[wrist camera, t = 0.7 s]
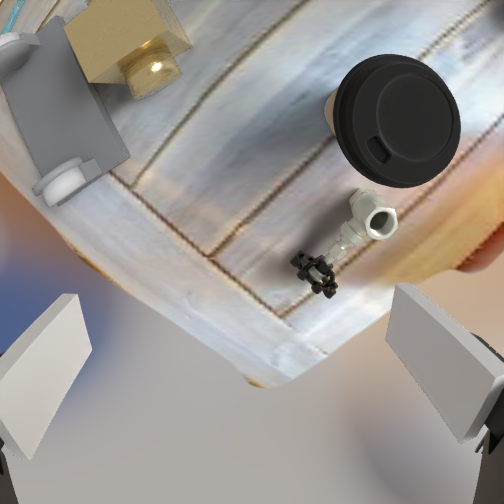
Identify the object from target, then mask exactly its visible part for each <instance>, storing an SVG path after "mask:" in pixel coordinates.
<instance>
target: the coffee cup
mask: <svg viewBox="0 0 504 504" xmlns="http://www.w3.org/2000/svg"><path fill="white" fill-rule="evenodd" d="M324 116H325V119H326V122H327V123H328V125H329V127H330V129H331V131H332V132H333V134H334V135H335V137H336V138H337V141H338V144H339V146H340V148H341V150H342V152H343V154H344V155H345V157H346V158H347V160H348V161H349V163H350V164H351V165H352V166H353V167H354V168H355V169H356V170H357V171H358V172H359V173H361V174H362V175H363V176H365V177H366V178H368V179H369V180H371V181H373V182H376V183H378V184H381V185H385V186H389V187H394V188H410V187H415V186H419V185H422V184H424V183H426V182H428V181H430V180H431V179H433V178H434V177H436V176H437V175H438V174H439V173H441V172H442V171H443V170H444V169H445V168H446V167H447V166H448V164H449V163H450V162H451V160H452V159H453V157H454V155H455V153H456V150H457V147H458V144H459V140H460V133H461V122H460V115H459V110H458V107H457V104H456V101H455V99H454V97H453V95H452V93H451V92H450V90H449V89H448V87H447V85H446V84H445V82H444V81H443V80H442V79H441V77H440V76H439V75H438V74H437V73H436V72H435V71H433V70H432V69H431V68H430V67H428V66H427V65H425V64H424V63H422V62H420V61H418V60H416V59H413V58H410V57H407V56H402V55H396V54H383V55H377V56H373V57H370V58H368V59H366V60H363V61H362V62H360V63H359V64H357V65H356V66H355V67H353V68H352V69H351V70H350V71H349V72H348V74H347V75H346V76H345V78H344V79H343V80H342V82H341V84H340V86H339V87H338V88H337V89H336V90H335V91H334V92H333V93H332V94H331V95H330V96H329V98H328V99H327V101H326V103H325V107H324Z"/></svg>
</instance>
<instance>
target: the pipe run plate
mask: <svg viewBox="0 0 504 504" xmlns="http://www.w3.org/2000/svg"><path fill="white" fill-rule="evenodd" d="M65 25H66V24H65V22H64V20H63V18H62V17H59V16H55V17H54V18H52V19H51V20H50V21H49V22H48V23H47V24H46V25H45V26H44V27H43V28H42V29H41V30H40V31H39V32H38V33H37V34H36V35H35V34H27V33H21V35H20V36H19V34H18V33H16V32H9V33H6V34H3V35H1V36H0V82H1V85H2V88H3V90H4V93H5V96H6V98H7V101H8V103H9V106H10V108H11V111H12V113H13V116H14V118H15V120H16V123H17V125H18V127H19V130H20V132H21V134H22V136H23V138H24V141H25V143H26V145H27V147H28V149H29V151H30V153H31V155H32V157H33V159H34V161H35V163H36V165H37V167H38V169H39V171H40V173H41V175H42V177H43V178H42V179H40V180H39V181H38V182H37V183H36V184H35V185H34V186H33V188H32V190H33V192H34V194H35V196H38V195H40V194H42V196H43V197H44V199H45V201H46V203H47V205H48V206H49V208H50V207H52V206H54V205H55V204H58V206H61V205H62V204H64V203H65V202H66V201H68V200H69V199H70V198H72V197H73V196H74V195H76V194H77V193H79V192H80V191H81V190H83V189H84V188H85V187H87V186H88V185H90V184H91V183H92V182H94V181H95V180H97V179H98V178H100V177H101V176H102V175H104V174H105V173H107V172H108V171H110V170H111V169H113V168H114V167H116V166H117V165H119V164H120V163H122V162H124V161H125V160H127V159H128V158H130V157H131V156H130V154H129V152H128V150H127V148H126V147H125V145H124V143H123V141H122V139H121V137H120V135H119V133H118V132H117V130H116V128H115V126H114V124H113V122H112V120H111V118H110V116H109V114H108V112H107V110H106V108H105V107H104V105H103V103H102V101H101V99H100V97H99V95H98V93H97V91H96V89H95V87H94V85H93V83H89V82H88V80H87V78H86V76H85V74H84V72H83V69H82V67H81V65H80V63H79V61H78V59H77V57H76V54H75V52H74V50H73V48H72V46H71V43H70V41H69V39H68V37H67V35H66V32H65V30H64V28H63V27H64V26H65Z"/></svg>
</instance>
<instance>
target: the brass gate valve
mask: <svg viewBox="0 0 504 504" xmlns="http://www.w3.org/2000/svg"><path fill="white" fill-rule="evenodd" d="M86 3H87V5H88V7H87V8H86V9H85V10H84V11H82V12H81V13H80V14H78V15H77V16H76V17H75V18H74V19H72V20H71V21H70V22H69V23H68V24H66V25H65V26H64V27H63V28H64V30H65V32H66V35H67V37H68V39H69V41H70V43H71V46H72V48H73V50H74V52H75V54H76V57H77V59H78V61H79V63H80V65H81V67H82V69H83V72H84V74H85V76H86V78H87V80H88V82H89V83H117V84H127V85H128V87H129V89H130V91H131V93H132V95H133V97H134V99H141V98H144V97H146V96H149V95H151V94H153V93H155V92H157V91H159V90H161V89H163V88H165V87H166V86H168V85H170V84H171V83H173V82H174V81H176V80H177V79H178V78H179V77H180V76H181V75H182V72H181V70H180V68H179V67H178V65H177V63H176V61H175V59H174V57H175V56H177V55H179V54H181V53H182V52H184V51H186V50H188V49H190V48H192V47H193V46H192V44H191V43H190V41H189V39H188V37H187V35H186V34H185V32H184V30H183V28H182V26H181V25H180V23H179V21H178V19H177V18H176V16H175V14H174V12H173V10H172V9H171V7H170V5H169V3H168V2H167V0H86Z"/></svg>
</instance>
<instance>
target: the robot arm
mask: <svg viewBox="0 0 504 504" xmlns="http://www.w3.org/2000/svg"><path fill="white" fill-rule="evenodd" d="M385 340H386V342H387V343H388V344H389V346H390V347H391V348H392V349H393V351H394V352H395V353H396V355H397V356H398V358H399V359H400V360H401V361H402V363H403V364H404V366H405V367H406V368H407V370H408V371H409V372H410V374H411V375H412V376H413V378H414V379H415V381H416V382H417V383H418V385H419V386H420V387H421V389H422V390H423V392H424V393H425V394H426V396H427V397H428V399H429V400H430V401H431V403H432V404H433V406H434V407H435V408H436V410H437V411H438V413H439V414H440V416H441V417H442V419H443V420H444V422H445V423H446V424H447V426H448V427H449V429H450V430H451V432H452V433H453V435H454V436H455V437H456V439H457V441H458V442H459V444H461V443H463V442H466V441H468V440H470V439H472V438H474V437H476V436H477V435H478V433H479V431H480V430H481V428H482V426H483V425H484V424H485V425H486V426H487V428H488V431H487V433H486V434H485V436H484V437H483V439H482V440H481V442H480V443H479V445H478V447H477V448H476V451H475V452H476V453H478V451H479V450H480V448H481V447H482V446H483V445H484V446H483V451H482V460H481V467H480V472H479V477H478V483H477V487H476V492H475V497H474V501H473V504H504V358H503V357H502V356H501V355H500V354H498V353H496V351H495V350H494V349H493V348H492V347H489V344H488V343H486V342H485V341H484V340H483V339H482V338H481V337H479V336H477V335H475V334H473V333H471V332H469V331H467V330H466V329H465V328H464V327H463V326H462V325H461V324H460V323H459V322H457V321H456V320H455V319H454V318H453V317H451V316H450V315H449V314H448V313H447V312H446V311H444V310H443V309H442V308H441V307H440V306H438V305H437V304H436V303H435V302H434V301H432V300H431V299H430V298H429V297H428V296H426V295H425V294H424V293H422V292H421V291H420V290H419V289H418V288H416V287H415V286H414V285H413V284H411V283H401V284H396V285H395V291H394V297H393V302H392V308H391V313H390V319H389V323H388V328H387V334H386V338H385ZM91 351H92V347H91V344H90V340H89V337H88V333H87V330H86V326H85V322H84V319H83V315H82V311H81V307H80V302H79V298H78V294H62V295H61V296H60V297H59V298H58V299H57V300H56V301H55V302H54V303H53V304H52V305H51V306H50V307H49V308H48V309H47V310H46V311H45V312H44V313H43V314H42V315H41V316H40V317H39V318H38V319H37V320H36V321H35V322H34V323H33V324H32V325H31V326H30V327H29V328H28V329H27V330H26V331H25V332H24V333H23V334H22V335H21V336H20V337H19V338H18V339H17V340H16V341H15V342H14V343H13V344H12V345H11V347H10V348H9V349H8V350H7V351H5V352H3V353H2V354H0V504H18V501H17V497H16V494H15V491H14V488H13V485H12V481H11V478H10V474H9V470H8V466H7V462H6V458H5V455H4V453H3V452H2V451H1V448H2V447H3V445H4V444H5V445H6V446H7V448H8V449H9V451H10V452H11V453H12V454H13V456H16V457H19V458H21V459H24V460H27V461H31V459H32V457H33V455H34V453H35V451H36V449H37V447H38V445H39V443H40V441H41V439H42V437H43V435H44V433H45V431H46V429H47V428H48V426H49V424H50V422H51V420H52V418H53V416H54V415H55V413H56V411H57V409H58V407H59V406H60V404H61V402H62V400H63V398H64V397H65V395H66V393H67V391H68V390H69V388H70V386H71V385H72V383H73V381H74V379H75V378H76V376H77V374H78V373H79V371H80V369H81V368H82V366H83V364H84V362H85V361H86V359H87V358H88V356H89V354H90V353H91Z"/></svg>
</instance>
